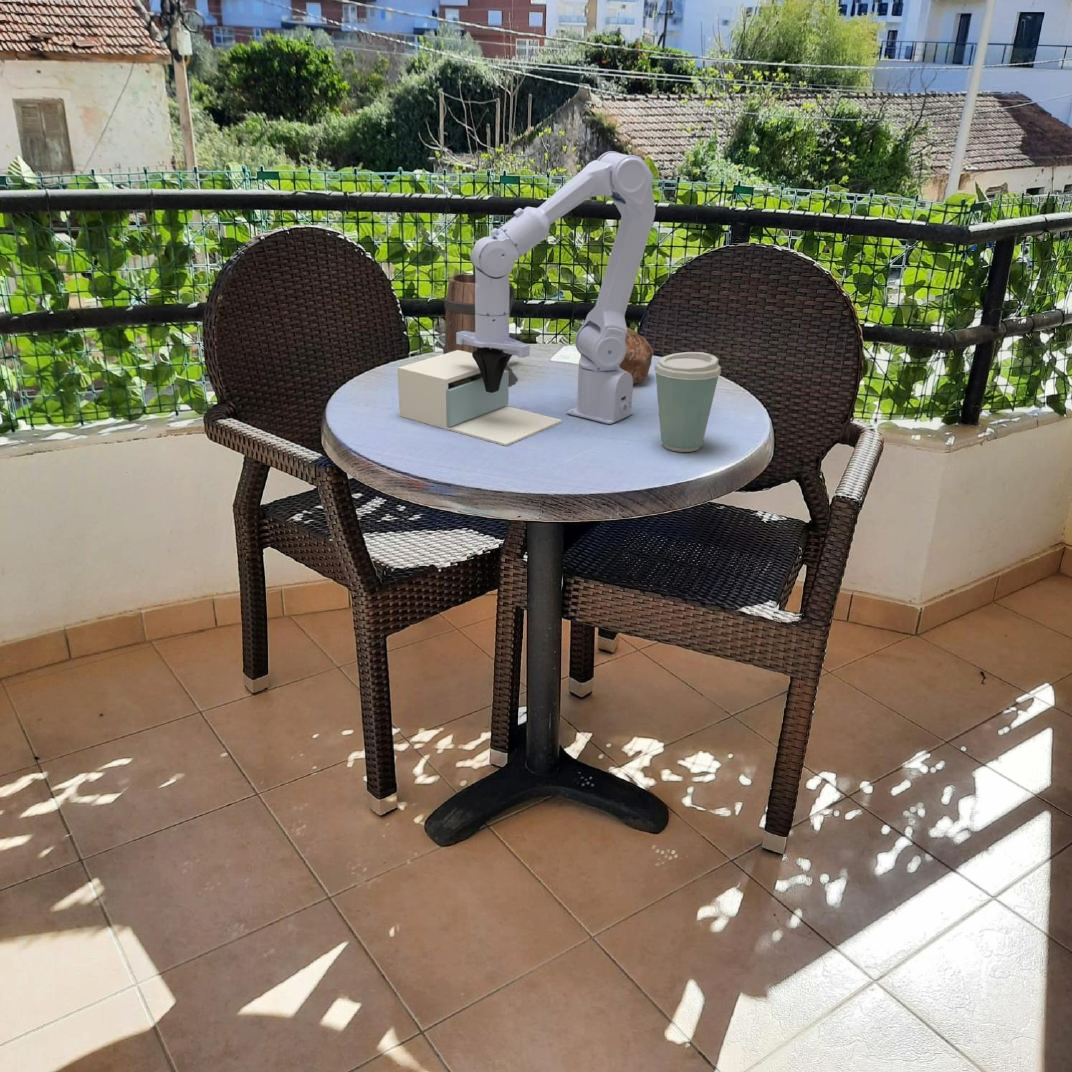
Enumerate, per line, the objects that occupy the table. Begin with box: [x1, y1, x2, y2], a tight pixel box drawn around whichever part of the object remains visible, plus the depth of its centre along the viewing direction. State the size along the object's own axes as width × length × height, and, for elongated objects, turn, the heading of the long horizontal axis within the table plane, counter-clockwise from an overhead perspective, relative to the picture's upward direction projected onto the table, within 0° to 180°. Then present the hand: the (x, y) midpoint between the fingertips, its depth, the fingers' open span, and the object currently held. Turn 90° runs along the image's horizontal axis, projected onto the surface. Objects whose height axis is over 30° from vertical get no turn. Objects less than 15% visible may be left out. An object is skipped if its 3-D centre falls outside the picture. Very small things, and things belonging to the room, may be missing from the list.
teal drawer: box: [446, 370, 509, 427], centre depth 172 cm, size 11×16×6 cm
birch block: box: [448, 377, 471, 389], centre depth 173 cm, size 4×4×5 cm
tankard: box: [442, 273, 523, 388], centre depth 192 cm, size 24×17×20 cm
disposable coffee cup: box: [654, 351, 722, 453], centre depth 158 cm, size 11×11×15 cm
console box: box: [397, 350, 563, 447], centre depth 169 cm, size 24×16×9 cm, turn 53°
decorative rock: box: [619, 327, 654, 384], centre depth 194 cm, size 13×11×10 cm
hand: (492, 391), depth 167 cm, fingers closed
